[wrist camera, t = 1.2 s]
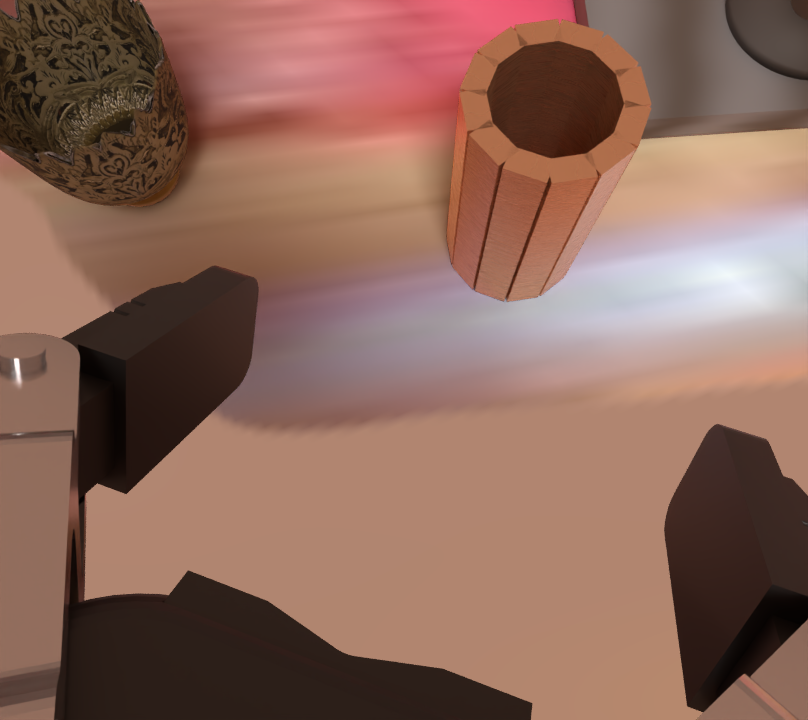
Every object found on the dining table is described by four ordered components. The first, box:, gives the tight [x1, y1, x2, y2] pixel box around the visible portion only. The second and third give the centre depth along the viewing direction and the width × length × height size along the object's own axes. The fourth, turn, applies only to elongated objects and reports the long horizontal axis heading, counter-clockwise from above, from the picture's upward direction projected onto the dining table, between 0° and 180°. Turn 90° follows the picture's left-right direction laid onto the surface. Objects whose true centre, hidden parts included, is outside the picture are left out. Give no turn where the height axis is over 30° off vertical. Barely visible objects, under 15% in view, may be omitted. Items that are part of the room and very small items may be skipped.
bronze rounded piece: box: [0, 0, 189, 207], centre depth 27 cm, size 8×7×8 cm
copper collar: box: [447, 19, 651, 302], centre depth 24 cm, size 6×6×10 cm
